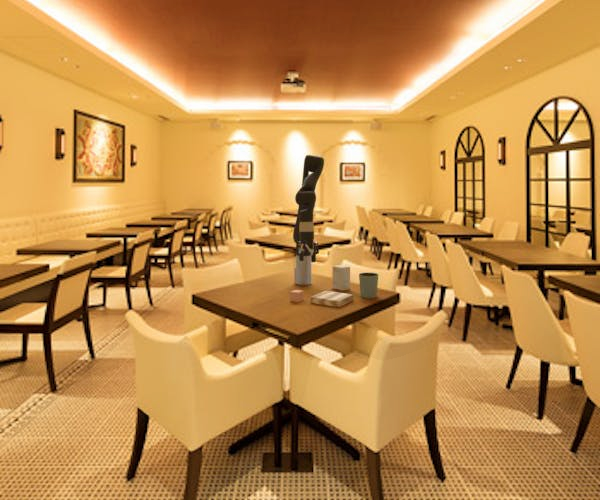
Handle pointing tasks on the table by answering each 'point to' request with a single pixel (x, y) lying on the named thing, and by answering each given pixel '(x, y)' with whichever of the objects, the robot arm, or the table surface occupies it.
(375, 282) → the grey cylindrical piece
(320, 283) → the table surface
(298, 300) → the terracotta cube
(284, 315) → the table surface
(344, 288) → the small box
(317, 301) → the maple base
